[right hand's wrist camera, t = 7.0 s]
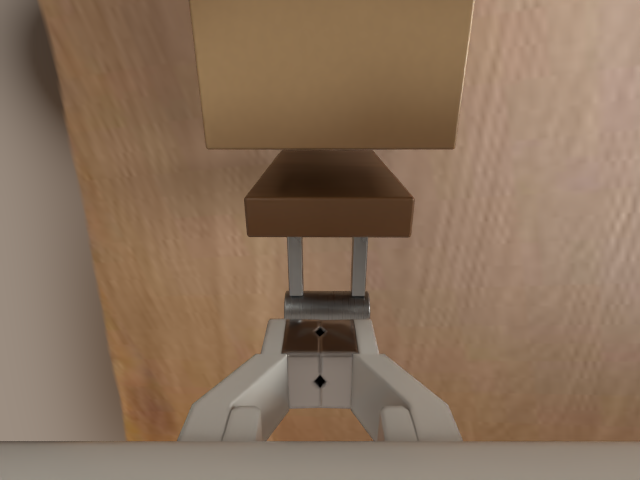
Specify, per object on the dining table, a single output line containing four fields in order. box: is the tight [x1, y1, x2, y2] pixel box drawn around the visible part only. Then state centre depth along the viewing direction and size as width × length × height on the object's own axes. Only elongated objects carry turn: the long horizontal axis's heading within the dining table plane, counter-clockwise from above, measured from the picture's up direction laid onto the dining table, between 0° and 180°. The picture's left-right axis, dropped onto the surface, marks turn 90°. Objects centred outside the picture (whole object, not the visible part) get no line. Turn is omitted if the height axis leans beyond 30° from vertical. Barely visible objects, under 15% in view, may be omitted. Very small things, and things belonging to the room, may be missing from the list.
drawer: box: [244, 150, 415, 320], centre depth 12 cm, size 24×5×9 cm, turn 0°
